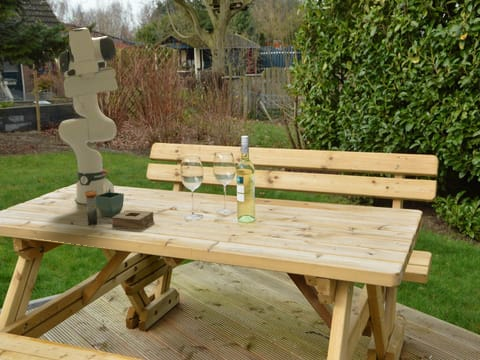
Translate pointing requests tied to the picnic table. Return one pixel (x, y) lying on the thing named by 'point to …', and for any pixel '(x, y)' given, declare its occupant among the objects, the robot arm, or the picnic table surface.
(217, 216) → the picnic table surface
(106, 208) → the flower pot
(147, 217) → the block
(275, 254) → the picnic table surface
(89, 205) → the pin
